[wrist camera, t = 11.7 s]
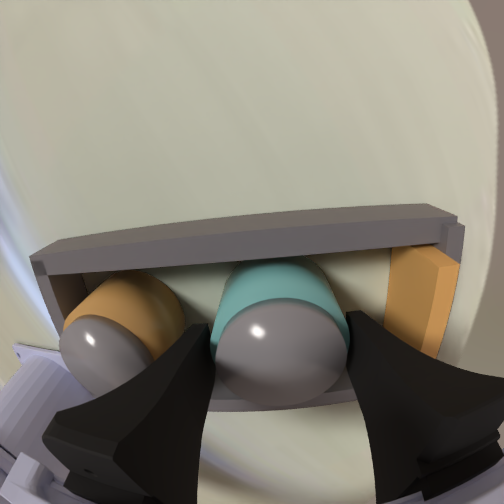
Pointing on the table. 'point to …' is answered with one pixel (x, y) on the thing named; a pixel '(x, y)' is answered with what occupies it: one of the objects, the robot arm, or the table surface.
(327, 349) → the teal jar
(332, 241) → the grey rectangular tray
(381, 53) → the table surface
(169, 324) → the amber jar
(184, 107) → the table surface
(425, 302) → the plate
